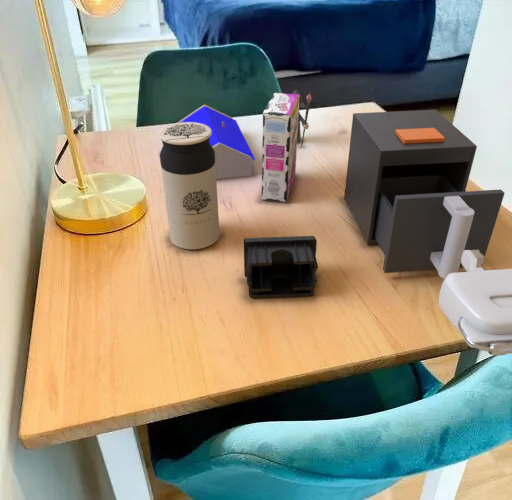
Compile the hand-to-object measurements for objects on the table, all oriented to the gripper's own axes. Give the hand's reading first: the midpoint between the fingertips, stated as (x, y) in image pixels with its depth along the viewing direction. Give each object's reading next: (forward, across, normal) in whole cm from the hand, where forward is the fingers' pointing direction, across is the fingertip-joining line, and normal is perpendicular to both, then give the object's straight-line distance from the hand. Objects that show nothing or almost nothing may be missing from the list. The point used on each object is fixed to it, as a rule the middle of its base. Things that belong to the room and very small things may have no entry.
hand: (510, 252), depth 54 cm
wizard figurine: (+64, -12, -14) cm, 66 cm away
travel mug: (+28, -35, -14) cm, 47 cm away
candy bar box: (+43, -19, -14) cm, 49 cm away
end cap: (+15, -23, -14) cm, 30 cm away
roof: (+59, -31, -14) cm, 68 cm away
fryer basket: (+18, -1, -13) cm, 22 cm away
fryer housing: (+30, -1, -14) cm, 33 cm away
